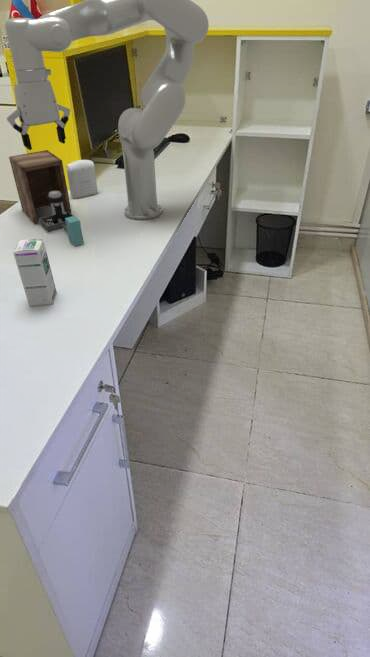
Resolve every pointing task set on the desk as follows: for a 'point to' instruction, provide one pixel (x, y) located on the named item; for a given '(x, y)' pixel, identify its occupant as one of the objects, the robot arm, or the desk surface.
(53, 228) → the teal and black gadget
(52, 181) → the walnut cubby
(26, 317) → the desk surface
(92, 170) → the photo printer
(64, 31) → the robot arm
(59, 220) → the self-inking stamp
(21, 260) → the syrup box
